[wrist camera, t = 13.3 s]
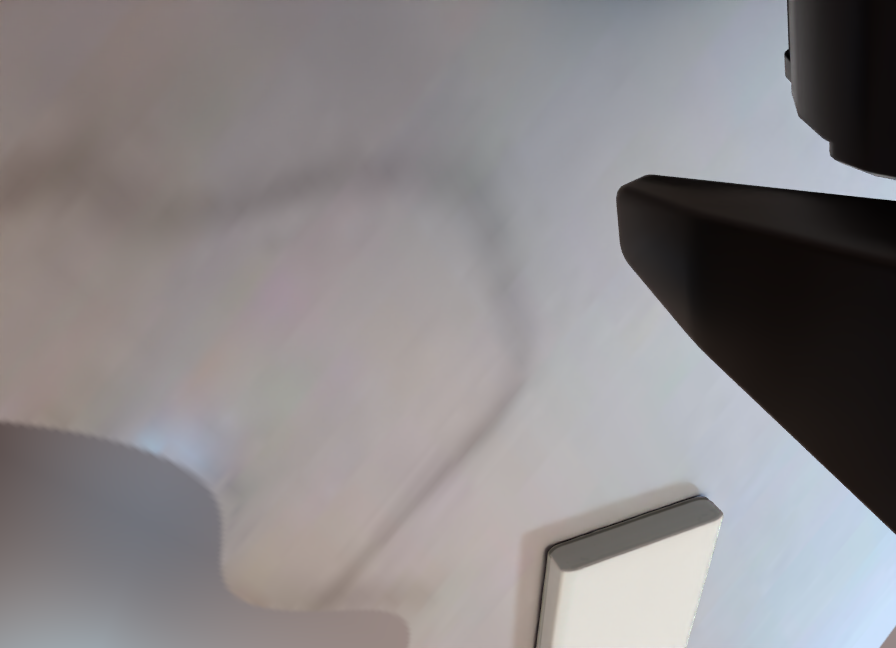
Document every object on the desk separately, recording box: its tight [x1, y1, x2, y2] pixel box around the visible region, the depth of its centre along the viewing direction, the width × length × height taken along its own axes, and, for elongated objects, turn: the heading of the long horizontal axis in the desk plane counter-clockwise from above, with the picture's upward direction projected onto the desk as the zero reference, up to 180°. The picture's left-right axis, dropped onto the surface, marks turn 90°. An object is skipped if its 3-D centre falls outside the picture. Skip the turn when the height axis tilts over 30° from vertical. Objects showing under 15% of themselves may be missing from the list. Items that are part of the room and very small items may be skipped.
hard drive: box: [536, 497, 723, 648], centre depth 39 cm, size 2×8×12 cm
